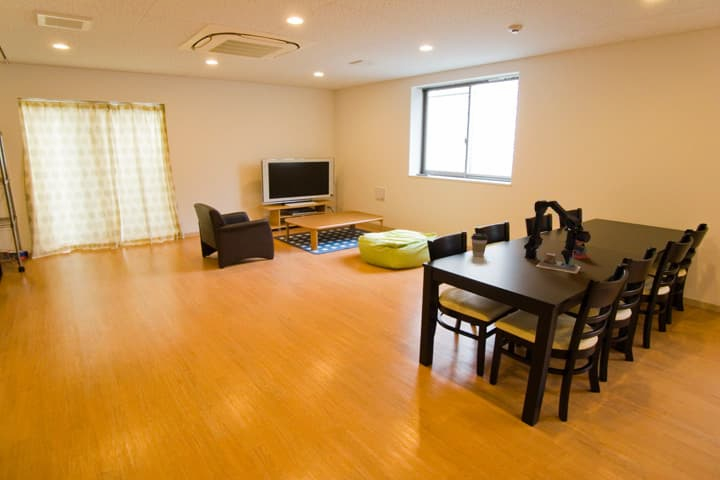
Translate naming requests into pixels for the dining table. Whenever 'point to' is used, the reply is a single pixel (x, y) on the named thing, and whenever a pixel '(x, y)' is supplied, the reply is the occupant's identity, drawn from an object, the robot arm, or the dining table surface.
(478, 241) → the coffee cup
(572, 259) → the teal cylinder
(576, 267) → the tray
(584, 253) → the stacking bear
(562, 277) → the dining table surface
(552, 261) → the walnut block
